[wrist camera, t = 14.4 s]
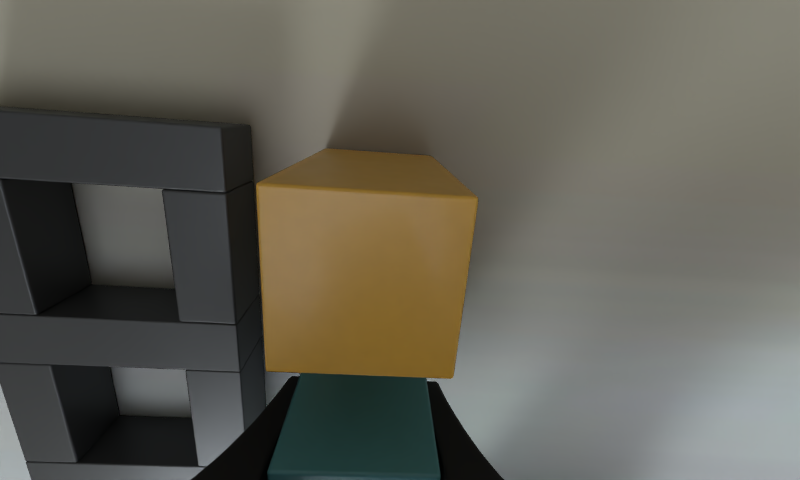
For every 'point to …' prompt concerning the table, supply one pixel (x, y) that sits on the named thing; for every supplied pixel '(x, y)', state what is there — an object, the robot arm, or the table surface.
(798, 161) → the table surface
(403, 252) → the ochre peg
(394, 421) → the teal peg
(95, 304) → the holder
